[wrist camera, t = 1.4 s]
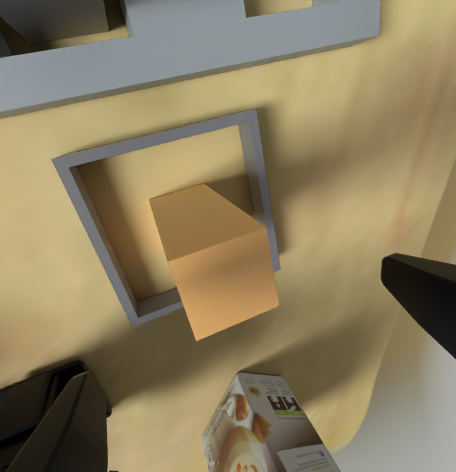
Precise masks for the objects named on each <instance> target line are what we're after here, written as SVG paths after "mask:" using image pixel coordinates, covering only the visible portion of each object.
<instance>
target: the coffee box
mask: <svg viewBox="0 0 456 472" xmlns="http://www.w3.org/2000/svg"><path fill="white" fill-rule="evenodd" d="M202 443H203V447H204V452H205V456H206V460H207V464H208V469H209V472H341V471H340V469H339V468H338V466H337V465H336V463H335V461H334V460H333V458H332V456H331V455H330V453H329V451H328V450H327V448H326V447H325V445H324V444H323V442H322V440H321V439H320V437H319V435H318V434H317V432H316V430H315V429H314V427H313V425H312V424H311V422H310V421H309V419H308V417H307V416H306V414H305V412H304V411H303V409H302V407H301V406H300V404H299V403H298V401H297V399H296V398H295V396H294V394H293V393H292V391H291V389H290V388H289V386H288V385H287V383H286V381H285V380H284V378H283V377H280V376H270V375H260V374H250V373H238V374H237V375H236V376H235V378H234V380H233V382H232V383H231V385H230V387H229V389H228V390H227V392H226V394H225V396H224V398H223V399H222V401H221V403H220V405H219V407H218V408H217V410H216V412H215V414H214V416H213V417H212V419H211V421H210V423H209V424H208V426H207V428H206V430H205V432H204V434H203V435H202Z"/></svg>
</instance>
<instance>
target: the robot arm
mask: <svg viewBox="0 0 456 472" xmlns="http://www.w3.org/2000/svg"><path fill="white" fill-rule="evenodd" d="M381 281H382V283H383V285H384V286H385V287H386V288H387V290H388V291H389V292H390V293H391V294H392V295H393V296H394V297H395V298H396V300H397V301H398V302H399V303H400V304H401V305H402V306H403V307H404V308H405V310H406V311H407V312H408V313H409V314H410V315H411V316H412V318H413V319H414V320H415V321H416V322H417V323H418V324H419V325H420V326H421V327H422V328H423V329H424V330H425V331H427V333H428V334H430V335H431V336H432V337H433V338H434V339H435V340H436V341H437V342H438V343H439V344H440V345H441V346H442V347H443V348H444V349H446V350H447V351H448V352H449V353H450V354H451V355H452V356H453V357H454V358H455V359H456V265H454V264H449V263H444V262H439V261H434V260H429V259H424V258H419V257H414V256H409V255H404V254H399V253H394V254H391V255H389V256H386V257H384V258H383V260H382V266H381ZM76 367H78V369H76ZM111 413H112V407H111V405H110V404H109V402H108V401H107V399H106V396H105V392H104V389H103V388H102V386H101V385H100V383H99V382H98V381H97V379H96V378H95V376H94V375H93V374H92V373H91V372H89V371H88V369H87V367H86V366H85V364H84V363H83V362H82V361H74V362H72V363H69V364H67V365H64V366H62V367H60V368H57V369H55V370H52V371H50V372H47V373H45V374H42V375H40V376H37V377H35V378H32V379H30V380H27V381H25V382H22V383H20V384H17V385H15V386H12V387H10V388H8V389H5V390H3V391H0V472H107V467H108V446H107V420H106V418H108V417H109V416H110V415H111ZM109 472H118V471H109Z"/></svg>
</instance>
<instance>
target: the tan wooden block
mask: <svg viewBox="0 0 456 472" xmlns="http://www.w3.org/2000/svg"><path fill="white" fill-rule="evenodd" d="M149 202H150V206H151V209H152V212H153V215H154V219H155V222H156V225H157V228H158V232H159V235H160V238H161V241H162V245H163V248H164V251H165V254H166V258H167V261H168V264H169V267H170V269H171V272H172V275H173V278H174V281H175V283H176V286H177V289H178V292H179V294H180V297H181V300H182V303H183V306H184V308H185V311H186V314H187V317H188V320H189V322H190V325H191V328H192V331H193V333H194V336H195V339H196V341H198V340H200V339H203V338H205V337H207V336H210V335H212V334H214V333H217V332H219V331H221V330H224V329H226V328H228V327H231V326H233V325H235V324H238V323H240V322H242V321H245V320H247V319H249V318H252V317H254V316H257V315H259V314H261V313H264V312H266V311H268V310H271V309H273V308H275V307H278V306H279V301H278V295H277V289H276V283H275V277H274V271H273V265H272V259H271V253H270V247H269V241H268V235H267V229H266V227H265V226H264V225H262V224H261V223H259V222H258V221H256V220H255V219H254V218H252V217H251V216H249V215H248V214H247V213H245V212H244V211H242V210H241V209H239V208H238V207H237V206H235V205H234V204H232V203H231V202H229V201H228V200H227V199H225V198H224V197H222V196H221V195H219V194H218V193H217V192H215V191H214V190H212V189H211V188H209V187H208V186H207V185H205V184H204V183H203V184H200V185H196V186H193V187H189V188H186V189H183V190H179V191H176V192H173V193H169V194H166V195H163V196H159V197H156V198H152V199H149Z"/></svg>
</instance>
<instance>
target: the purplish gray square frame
mask: <svg viewBox="0 0 456 472" xmlns="http://www.w3.org/2000/svg"><path fill="white" fill-rule="evenodd" d="M237 124H238V126H239V132H240V137H241V143H242V148H243V154H244V159H245V165H246V170H247V176H248V181H249V187H250V192H251V198H252V203H253V208H254V214H255V219H256V221H258V222H259V223H261V224H262V225H264V226H265V227H266V229H267V235H268V241H269V247H270V253H271V259H272V265H273V271H274V272H275V271H277V270H280V269H281V268H280V261H279V255H278V248H277V242H276V235H275V229H274V222H273V216H272V209H271V203H270V196H269V190H268V183H267V176H266V170H265V163H264V157H263V150H262V144H261V137H260V131H259V124H258V118H257V111H256V109H253V110H247V111H242V112H238V113H234V114H230V115H226V116H222V117H218V118H213V119H209V120H205V121H201V122H197V123H193V124H189V125H185V126H181V127H177V128H172V129H168V130H164V131H160V132H156V133H152V134H148V135H144V136H140V137H136V138H132V139H127V140H123V141H119V142H115V143H111V144H107V145H103V146H99V147H95V148H91V149H87V150H82V151H78V152H74V153H70V154H66V155H62V156H59V157H56V158H53V159H51V160H52V162H53V164H54V166H55V168H56V170H57V172H58V174H59V176H60V178H61V180H62V182H63V184H64V187H65V189H66V191H67V193H68V195H69V197H70V199H71V201H72V203H73V205H74V207H75V209H76V211H77V213H78V216H79V218H80V220H81V222H82V224H83V226H84V228H85V230H86V232H87V234H88V236H89V238H90V240H91V242H92V245H93V247H94V249H95V251H96V253H97V255H98V257H99V259H100V261H101V263H102V265H103V267H104V269H105V271H106V274H107V276H108V278H109V280H110V282H111V284H112V286H113V288H114V290H115V292H116V294H117V296H118V298H119V300H120V303H121V305H122V307H123V309H124V311H125V313H126V315H127V317H128V319H129V321H130V323H131V325H132V327H136V326H138V325H141V324H143V323H146V322H148V321H151V320H154V319H156V318H159V317H161V316H164V315H166V314H169V313H171V312H174V311H176V310H179V309H181V308H184V306H183V303H182V300H181V297H180V294H179V292H178V289H177V288H174V289H171V290H169V291H166V292H163V293H161V294H158V295H155V296H153V297H150V298H148V299H145V300H142V301H140V302H137V301H136V299H135V296H134V294H133V292H132V290H131V288H130V285H129V283H128V281H127V279H126V276H125V274H124V272H123V270H122V267H121V265H120V263H119V261H118V259H117V256H116V254H115V252H114V250H113V247H112V245H111V243H110V241H109V239H108V236H107V234H106V232H105V230H104V227H103V225H102V223H101V221H100V218H99V216H98V214H97V212H96V210H95V207H94V205H93V203H92V201H91V198H90V196H89V194H88V192H87V190H86V187H85V185H84V183H83V181H82V178H81V176H80V174H79V172H78V170H77V167H76V165H80V164H84V163H88V162H92V161H96V160H100V159H104V158H108V157H112V156H116V155H119V154H123V153H127V152H131V151H135V150H139V149H143V148H147V147H151V146H155V145H159V144H163V143H167V142H171V141H174V140H178V139H182V138H186V137H190V136H194V135H198V134H202V133H206V132H210V131H214V130H218V129H222V128H226V127H229V126H233V125H237Z"/></svg>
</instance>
